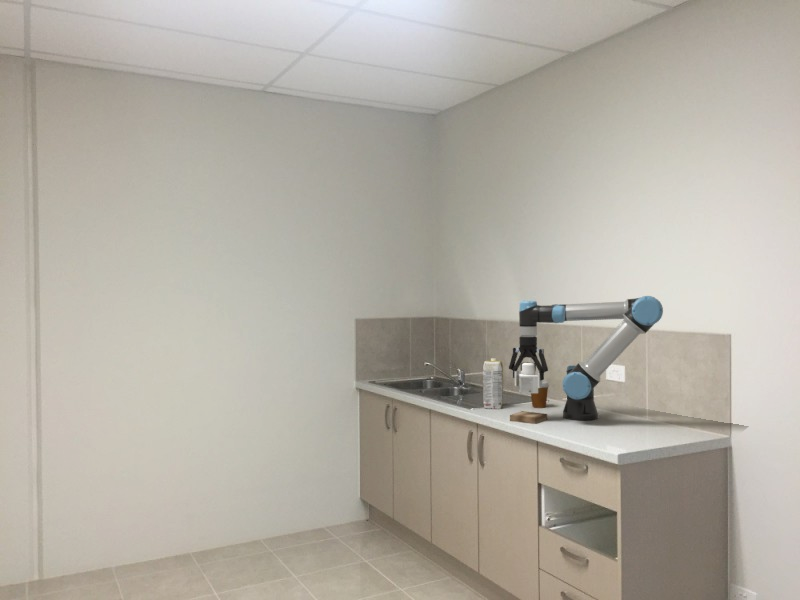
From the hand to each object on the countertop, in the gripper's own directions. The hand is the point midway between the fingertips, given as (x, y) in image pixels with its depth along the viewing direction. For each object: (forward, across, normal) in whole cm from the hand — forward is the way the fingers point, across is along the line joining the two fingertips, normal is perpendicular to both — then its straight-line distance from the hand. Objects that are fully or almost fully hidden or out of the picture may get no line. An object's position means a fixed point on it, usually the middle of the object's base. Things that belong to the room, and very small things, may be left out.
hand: (528, 386), depth 306 cm
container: (+3, 0, 0) cm, 3 cm away
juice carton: (+15, +28, -19) cm, 37 cm away
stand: (+15, 0, 0) cm, 15 cm away
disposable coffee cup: (+15, +11, -34) cm, 39 cm away
